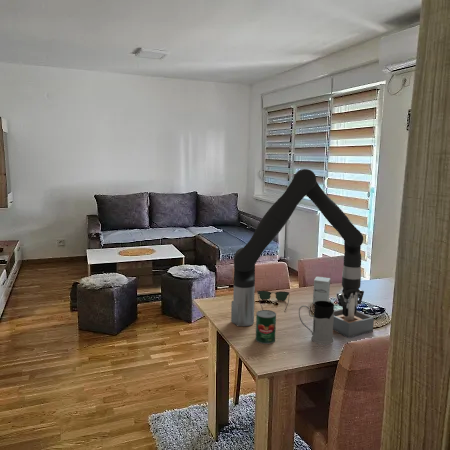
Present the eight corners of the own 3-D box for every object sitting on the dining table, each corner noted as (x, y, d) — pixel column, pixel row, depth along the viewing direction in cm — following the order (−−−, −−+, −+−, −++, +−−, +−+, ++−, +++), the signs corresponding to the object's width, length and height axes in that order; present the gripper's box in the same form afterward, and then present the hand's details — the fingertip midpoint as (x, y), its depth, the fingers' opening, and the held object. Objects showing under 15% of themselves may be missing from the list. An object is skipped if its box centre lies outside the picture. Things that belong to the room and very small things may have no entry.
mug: (334, 345, 158) (336, 308, 155) (297, 342, 160) (299, 306, 158) (332, 335, 166) (334, 300, 164) (297, 333, 168) (298, 298, 166)
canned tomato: (261, 345, 157) (262, 318, 155) (252, 337, 164) (252, 311, 162) (279, 341, 160) (279, 315, 158) (269, 334, 167) (269, 308, 166)
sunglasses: (256, 311, 193) (256, 301, 193) (257, 299, 210) (257, 290, 209) (291, 313, 192) (291, 302, 191) (289, 300, 209) (289, 291, 208)
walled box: (348, 337, 164) (349, 323, 163) (324, 325, 177) (325, 312, 176) (372, 331, 171) (373, 317, 170) (348, 319, 183) (349, 307, 182)
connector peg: (348, 323, 171) (350, 296, 169) (342, 320, 174) (343, 293, 172) (355, 321, 172) (357, 294, 171) (348, 318, 176) (350, 291, 174)
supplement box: (312, 304, 203) (313, 279, 201) (314, 299, 210) (315, 276, 208) (327, 306, 200) (328, 281, 198) (329, 301, 207) (330, 277, 205)
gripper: (345, 280, 164) (343, 320, 166) (370, 276, 170) (368, 315, 173) (332, 276, 170) (330, 314, 173) (357, 271, 177) (354, 309, 179)
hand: (349, 314), depth 173 cm, fingers closed on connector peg, 4 cm apart
